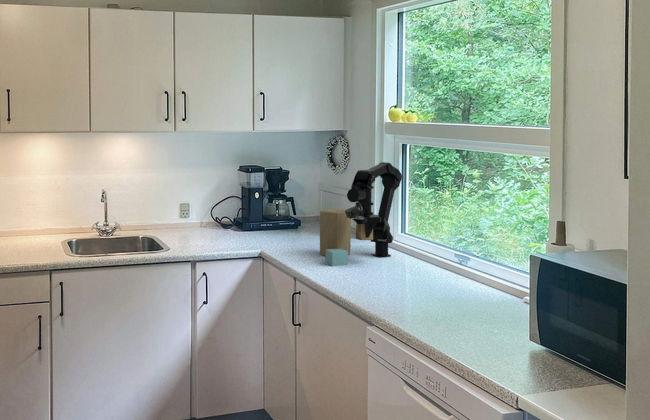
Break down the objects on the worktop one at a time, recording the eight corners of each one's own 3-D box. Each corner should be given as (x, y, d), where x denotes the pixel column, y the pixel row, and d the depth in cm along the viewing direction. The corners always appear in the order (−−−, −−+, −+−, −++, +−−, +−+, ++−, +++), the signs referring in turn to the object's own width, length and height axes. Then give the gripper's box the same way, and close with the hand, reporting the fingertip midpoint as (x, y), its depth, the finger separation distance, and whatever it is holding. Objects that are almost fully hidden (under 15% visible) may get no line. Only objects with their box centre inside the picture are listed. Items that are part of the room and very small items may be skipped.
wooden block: (333, 252, 368) (333, 208, 365) (350, 254, 362) (351, 210, 359) (319, 255, 360) (319, 210, 358) (336, 258, 354) (337, 212, 351)
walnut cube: (355, 238, 346) (355, 224, 345) (367, 237, 348) (367, 223, 347) (361, 240, 341) (361, 226, 340) (373, 239, 343) (373, 225, 342)
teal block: (325, 263, 342) (325, 249, 342) (340, 262, 345) (340, 248, 344) (332, 266, 336) (332, 252, 335) (347, 265, 339) (347, 251, 338)
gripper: (338, 198, 347) (337, 234, 349) (357, 203, 331) (356, 241, 333) (361, 197, 352) (361, 233, 354) (381, 202, 335) (381, 239, 337)
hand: (364, 236), depth 344 cm, fingers closed on walnut cube, 5 cm apart
